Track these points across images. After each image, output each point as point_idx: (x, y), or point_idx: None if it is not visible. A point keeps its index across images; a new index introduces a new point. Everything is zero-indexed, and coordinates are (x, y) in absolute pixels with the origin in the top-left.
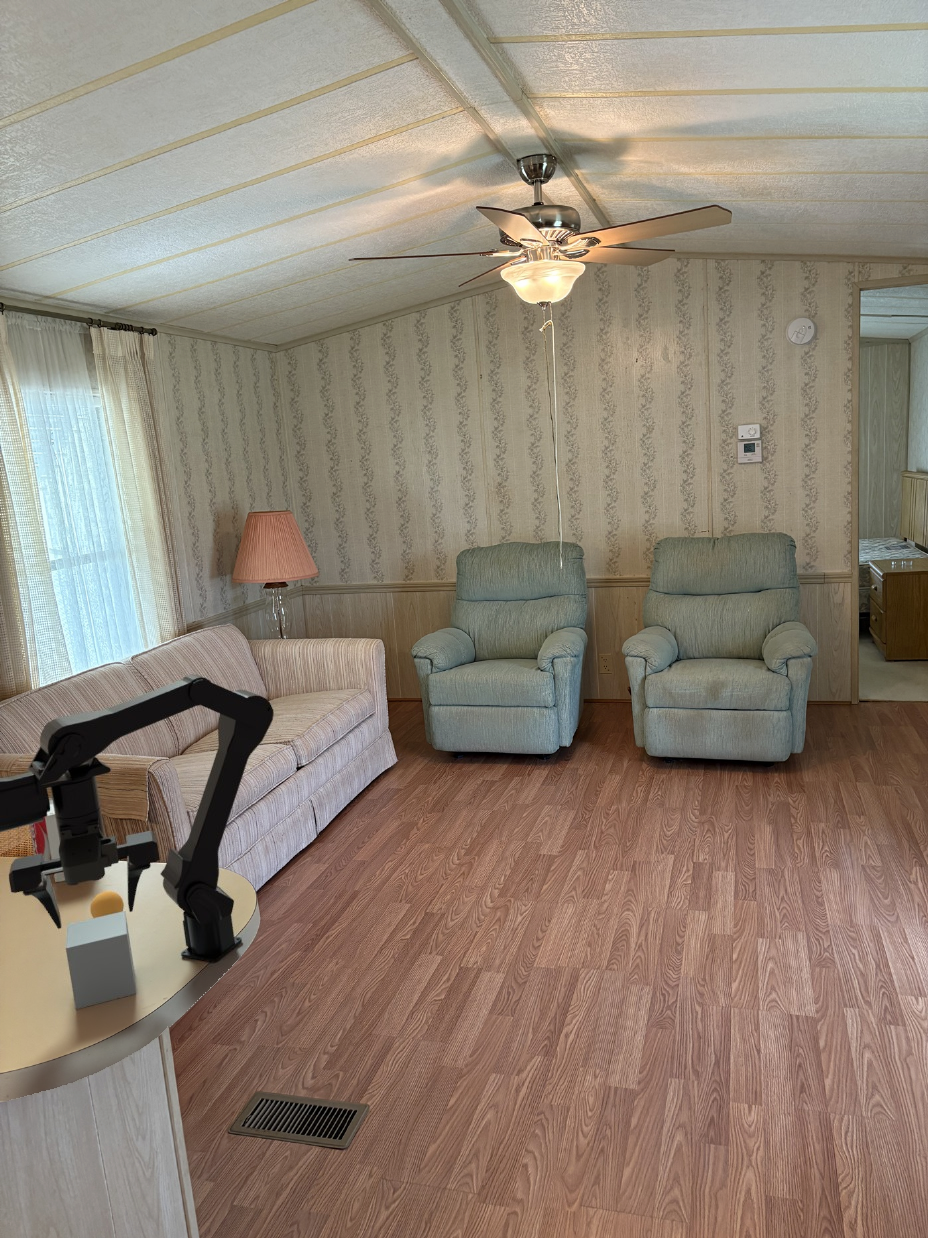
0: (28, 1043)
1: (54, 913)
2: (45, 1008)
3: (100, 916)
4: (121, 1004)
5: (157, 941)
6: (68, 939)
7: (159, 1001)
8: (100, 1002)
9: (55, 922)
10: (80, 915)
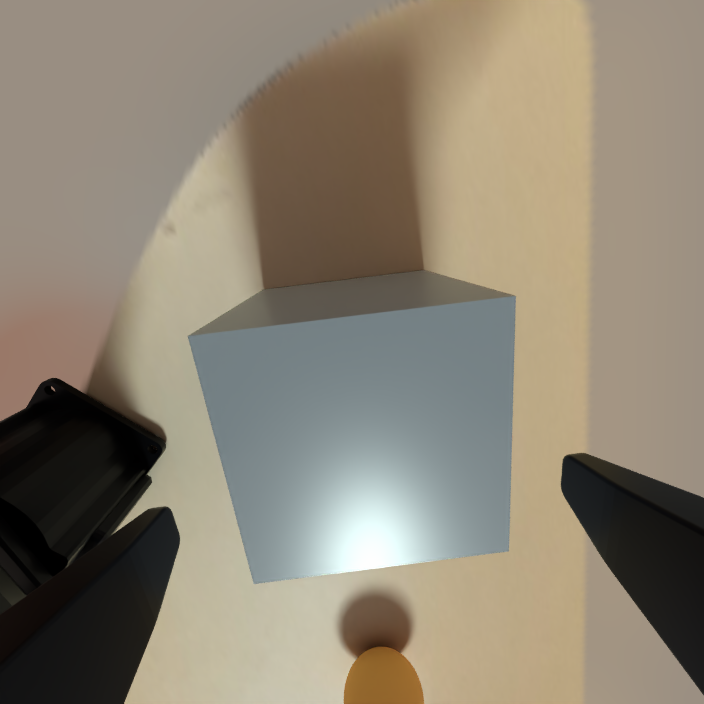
0: (543, 125)
1: (701, 517)
2: None
3: (396, 666)
4: (298, 246)
5: None
6: (502, 396)
7: (184, 215)
8: (359, 278)
9: (630, 472)
10: (444, 694)
